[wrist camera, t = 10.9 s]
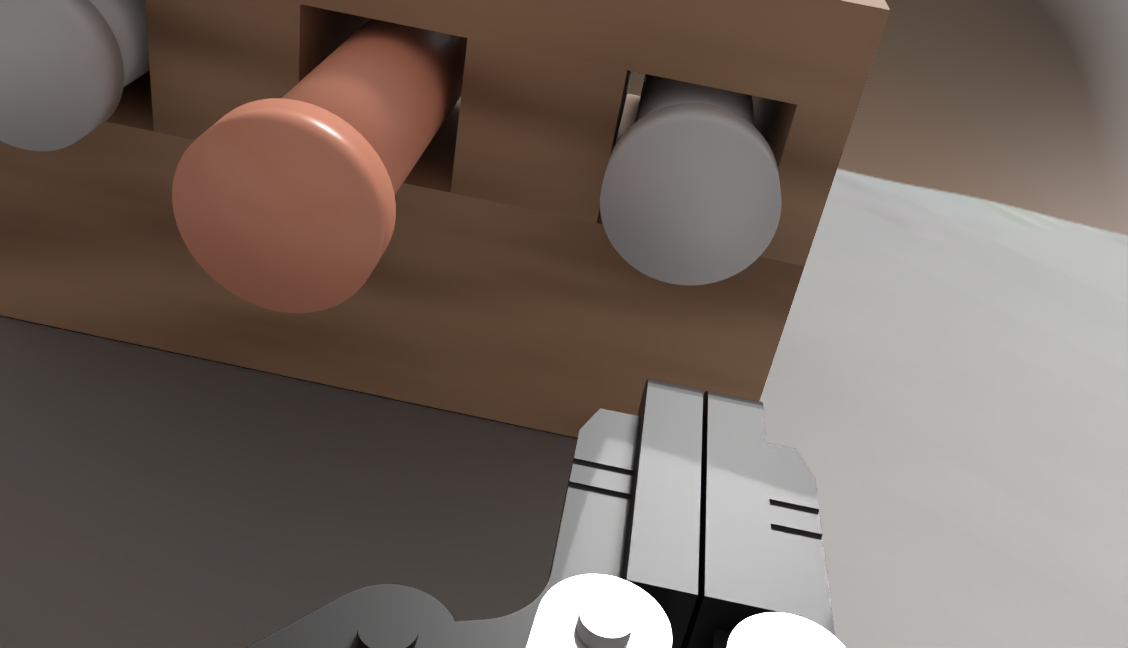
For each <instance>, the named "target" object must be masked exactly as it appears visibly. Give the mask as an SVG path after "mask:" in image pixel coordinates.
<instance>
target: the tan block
mask: <svg viewBox="0 0 1128 648" xmlns="http://www.w3.org/2000/svg"><path fill="white" fill-rule="evenodd" d="M145 4H146V20H147V35H148V50H149V65H150V71H148V72H146V73H145V74H143V75H142V76H140V77H139V78H137V79H136V80H134V81H132V82H131V83H129V84H128V85H126V86H125V87H124V88H123V93H122V97H121V100H120V102H119V104H118V107H117V109H116V110H115V111H114V113H113V114H112V116H111V117H110V118H109V119H108V120H107V121H106V122H105V123H103V124H102V125H100V126H99V127H97V128H96V129H94V130H93V131H91V132H90V133H88V134H87V135H86V136H84V137H83V138H81V139H80V140H78V141H77V142H75V143H74V144H72V145H70V146H68V147H65V148H62V149H58V150H54V151H31V150H25V149H21V148H17V147H14V146H11V145H9V144H6V143H4V142H2V141H0V315H1V316H6V317H11V318H16V319H20V320H25V321H30V322H34V323H39V324H44V325H48V326H53V327H58V328H63V329H67V330H72V331H77V332H81V333H86V334H91V335H95V336H100V337H105V338H110V339H114V340H119V341H124V342H128V343H133V344H138V345H143V346H147V347H152V348H157V349H161V350H166V351H171V352H175V353H180V354H185V355H190V356H194V357H199V358H204V359H208V360H213V361H218V362H222V363H227V364H232V365H237V366H241V367H246V368H251V369H255V370H260V371H265V372H270V373H274V374H279V375H284V376H288V377H293V378H298V379H302V380H307V381H312V382H317V383H321V384H326V385H331V386H335V387H340V388H345V389H350V390H354V391H359V392H364V393H368V394H373V395H378V396H382V397H387V398H392V399H397V400H401V401H406V402H411V403H415V404H420V405H425V406H429V407H434V408H439V409H444V410H448V411H453V412H458V413H462V414H467V415H472V416H477V417H481V418H486V419H491V420H495V421H500V422H505V423H509V424H514V425H519V426H524V427H528V428H533V429H538V430H542V431H547V432H552V433H556V434H561V435H566V436H571V437H575V438H578V435H579V430H580V429H581V428H582V427H583V426H584V425H585V424H586V423H587V422H588V421H589V420H590V419H591V417H592V416H593V415H594V414H595V413H596V412H597V411H598V410H599V409H600V408H601V409H606V410H611V411H616V412H621V413H625V414H630V415H635V416H637V414H638V410H639V406H640V402H641V398H642V394H643V390H644V386H645V383H646V380H647V379H652V380H657V381H661V382H666V383H671V384H676V385H681V386H686V387H690V388H695V389H700V390H702V391H703V395H704V393H705V391H711V392H716V393H720V394H725V395H730V396H735V397H740V398H745V399H749V400H754V401H759V400H760V397H761V394H762V391H763V388H764V385H765V382H766V379H767V376H768V373H769V370H770V367H771V364H772V361H773V358H774V355H775V352H776V349H777V346H778V343H779V340H780V338H781V335H782V332H783V329H784V326H785V323H786V320H787V317H788V314H789V311H790V308H791V305H792V302H793V299H794V296H795V293H796V290H797V287H798V284H799V281H800V278H801V275H802V272H803V269H804V266H805V263H806V260H807V257H808V254H809V251H810V248H811V245H812V242H813V239H814V236H815V233H816V230H817V227H818V224H819V221H820V218H821V215H822V212H823V209H824V206H825V203H826V200H827V197H828V194H829V191H830V188H831V185H832V182H833V179H834V176H835V173H836V170H837V167H838V164H839V161H840V158H841V155H842V152H843V149H844V146H845V143H846V140H847V137H848V134H849V131H850V128H851V125H852V122H853V119H854V116H855V113H856V111H857V107H858V105H859V101H860V98H861V96H862V93H863V90H864V87H865V84H866V81H867V78H868V75H869V72H870V69H871V66H872V63H873V60H874V57H875V54H876V51H877V47H878V45H879V42H880V39H881V36H882V33H883V30H884V27H885V24H886V21H887V18H888V15H889V12H890V9H889V7H888V5H887V4H886V2H885V0H145ZM370 19H376V20H381V21H386V22H391V23H396V24H401V25H406V26H411V27H416V28H421V29H426V30H430V31H435V32H440V33H445V34H450V35H455V36H460V37H465V38H467V47H466V56H465V65H464V74H463V84H462V93H461V97H460V98H459V100H458V101H457V103H456V104H455V106H454V107H453V109H452V110H451V112H450V113H449V115H448V116H447V118H446V119H445V121H444V122H443V124H442V125H441V127H440V128H439V130H438V131H437V133H436V134H435V136H434V137H433V139H432V140H431V142H430V143H429V145H428V146H427V148H426V149H425V151H424V152H423V154H422V155H421V157H420V158H419V160H418V161H417V163H416V164H415V166H414V167H413V169H412V170H411V172H410V173H409V175H408V176H407V178H406V179H405V181H404V182H403V184H402V185H401V187H400V188H399V190H398V191H397V193H396V194H395V203H396V219H395V226H394V231H393V234H392V237H391V240H390V242H389V244H388V246H387V248H386V250H385V252H384V253H383V255H382V257H381V258H380V260H379V262H378V263H377V265H376V266H375V268H374V270H373V271H372V273H371V275H370V276H369V278H368V279H367V280H366V282H365V283H364V285H363V286H362V287H361V288H360V289H359V290H358V291H357V292H356V293H355V294H354V295H352V296H351V297H350V298H348V299H347V300H346V301H344V302H342V303H340V304H338V305H336V306H334V307H331V308H328V309H325V310H321V311H316V312H310V313H286V312H280V311H274V310H270V309H267V308H263V307H260V306H257V305H255V304H252V303H250V302H248V301H246V300H244V299H242V298H240V297H238V296H236V295H234V294H233V293H231V292H230V291H228V290H227V289H225V288H224V287H223V286H221V285H220V284H219V283H218V282H216V281H215V280H214V279H213V278H212V277H211V276H210V275H209V274H208V273H207V272H206V271H205V270H204V269H203V268H202V267H201V266H200V265H199V263H198V262H197V261H196V260H195V258H194V257H193V255H192V254H191V253H190V251H189V250H188V248H187V246H186V244H185V242H184V240H183V239H182V237H181V234H180V231H179V229H178V226H177V223H176V220H175V216H174V211H173V203H172V186H173V180H174V175H175V172H176V169H177V166H178V163H179V161H180V159H181V158H182V156H183V154H184V152H185V151H186V150H187V149H188V147H189V146H190V145H191V144H192V143H193V142H194V141H195V140H196V139H197V138H198V137H199V136H200V135H202V134H203V133H204V132H205V131H206V130H208V129H209V128H210V127H211V126H212V125H214V124H215V123H216V122H217V121H218V120H220V119H221V118H222V117H223V116H225V115H226V114H227V113H229V112H230V111H232V110H233V109H235V108H237V107H239V106H242V105H244V104H246V103H249V102H253V101H257V100H262V99H270V98H282V97H283V96H284V95H285V94H287V93H288V92H289V91H290V90H291V89H292V88H293V87H294V86H296V85H297V84H298V83H299V82H300V81H301V80H302V79H303V78H305V77H306V76H307V75H308V74H309V73H310V72H311V71H312V70H313V69H315V68H316V67H317V66H318V65H319V64H320V63H321V62H322V61H324V60H325V59H326V58H327V57H328V56H329V55H330V54H331V53H333V52H334V51H335V50H336V49H337V48H338V47H339V46H340V45H342V44H343V43H344V42H345V41H346V40H347V39H348V38H349V37H350V36H352V35H353V34H354V33H355V32H356V31H357V30H358V29H359V28H361V27H362V26H363V25H364V24H365V23H366V22H367V21H368V20H370ZM632 71H633V72H638V73H643V74H648V75H653V76H658V77H663V78H668V79H673V80H678V81H683V82H688V83H693V84H698V85H702V86H707V87H712V88H717V89H722V90H727V91H732V92H737V93H742V94H747V95H752V99H753V111H754V124H755V128H756V129H757V130H758V131H759V132H760V133H761V134H762V136H763V137H764V138H765V140H766V141H767V143H768V144H769V146H770V148H771V150H772V152H773V154H774V157H775V160H776V163H777V168H778V173H779V181H780V189H781V202H782V205H781V215H780V219H779V224H778V227H777V229H776V232H775V235H774V237H773V238H772V240H771V242H770V244H769V245H768V247H767V248H766V249H765V251H764V252H763V253H762V254H761V255H760V256H759V257H758V258H757V259H756V261H755V262H753V263H752V264H751V265H749V266H748V267H747V268H746V269H744V270H742V271H741V272H739V273H737V274H736V275H734V276H731V277H729V278H727V279H724V280H721V281H718V282H715V283H710V284H705V285H693V286H692V285H677V284H670V283H666V282H663V281H659V280H657V279H654V278H651V277H649V276H647V275H645V274H643V273H642V272H640V271H638V270H637V269H635V268H634V267H633V266H631V265H630V264H629V263H628V262H627V261H625V260H624V259H623V258H622V257H621V256H620V254H619V253H618V252H617V251H616V250H615V248H614V247H613V245H612V244H611V242H610V240H609V238H608V236H607V234H606V232H605V229H604V226H603V223H602V219H601V213H600V194H601V188H602V183H603V179H604V175H605V171H606V168H607V164H608V160H609V157H610V155H611V153H612V150H613V148H614V147H615V145H616V144H617V142H618V140H619V139H620V138H621V136H622V135H623V134H624V133H625V131H626V130H628V129H629V128H630V127H631V126H632V125H633V124H634V123H635V121H636V116H637V112H638V107H639V102H640V97H641V96H637V95H632V94H628V89H629V84H630V79H631V75H632Z"/></svg>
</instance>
